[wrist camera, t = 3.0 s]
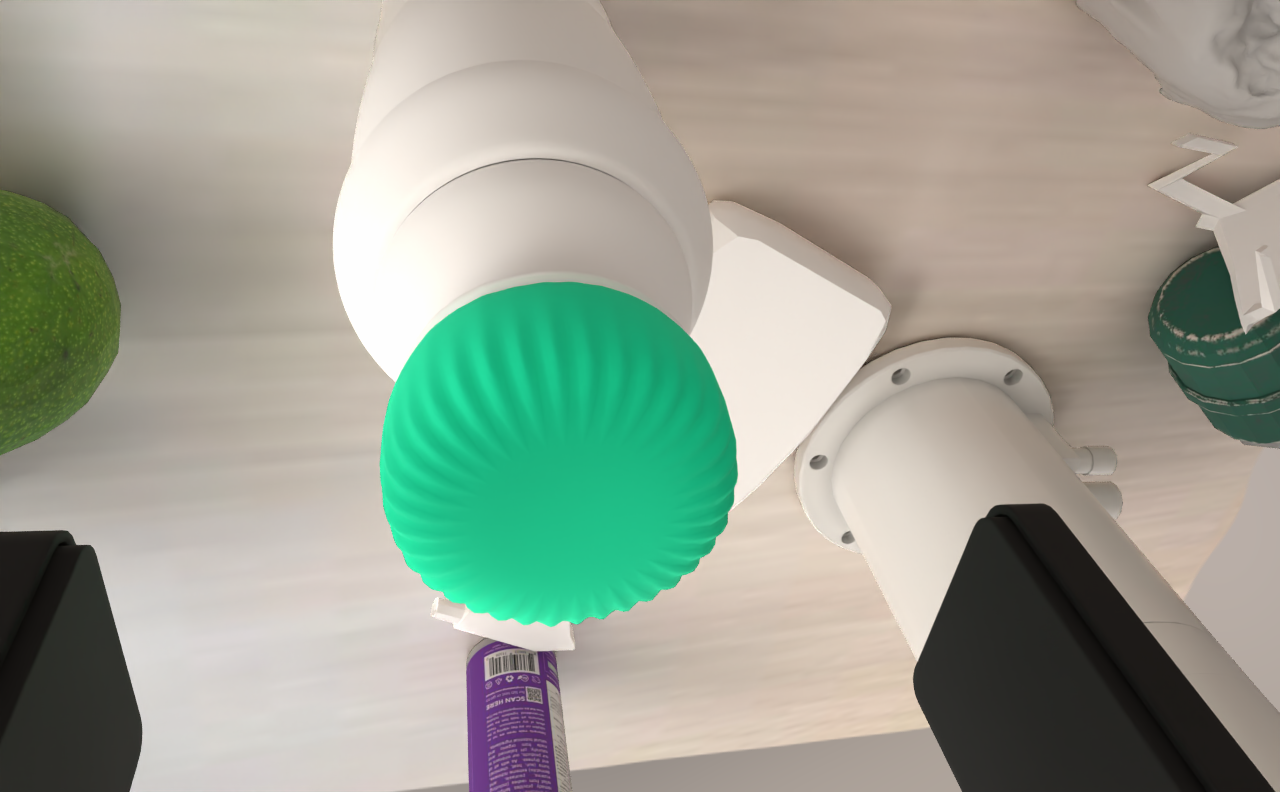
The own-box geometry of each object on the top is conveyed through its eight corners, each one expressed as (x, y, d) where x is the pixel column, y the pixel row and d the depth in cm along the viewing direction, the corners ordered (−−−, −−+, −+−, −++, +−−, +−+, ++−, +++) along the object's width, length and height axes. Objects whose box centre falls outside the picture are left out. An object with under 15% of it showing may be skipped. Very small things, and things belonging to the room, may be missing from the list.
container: (448, 673, 50) (449, 976, 38) (499, 618, 48) (517, 916, 36) (522, 700, 52) (546, 994, 40) (573, 648, 50) (614, 938, 38)
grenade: (1175, 224, 43) (1263, 369, 49) (1107, 346, 42) (1206, 478, 48) (1346, 228, 37) (1421, 390, 44) (1273, 369, 36) (1361, 515, 42)
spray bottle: (896, 289, 41) (591, 644, 51) (695, 166, 36) (402, 583, 46) (924, 325, 39) (598, 689, 49) (712, 198, 34) (399, 630, 44)
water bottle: (608, -75, 31) (915, 291, 11) (581, 136, 35) (770, 698, 15) (384, -109, 29) (252, 246, 9) (381, 116, 33) (285, 715, 13)
